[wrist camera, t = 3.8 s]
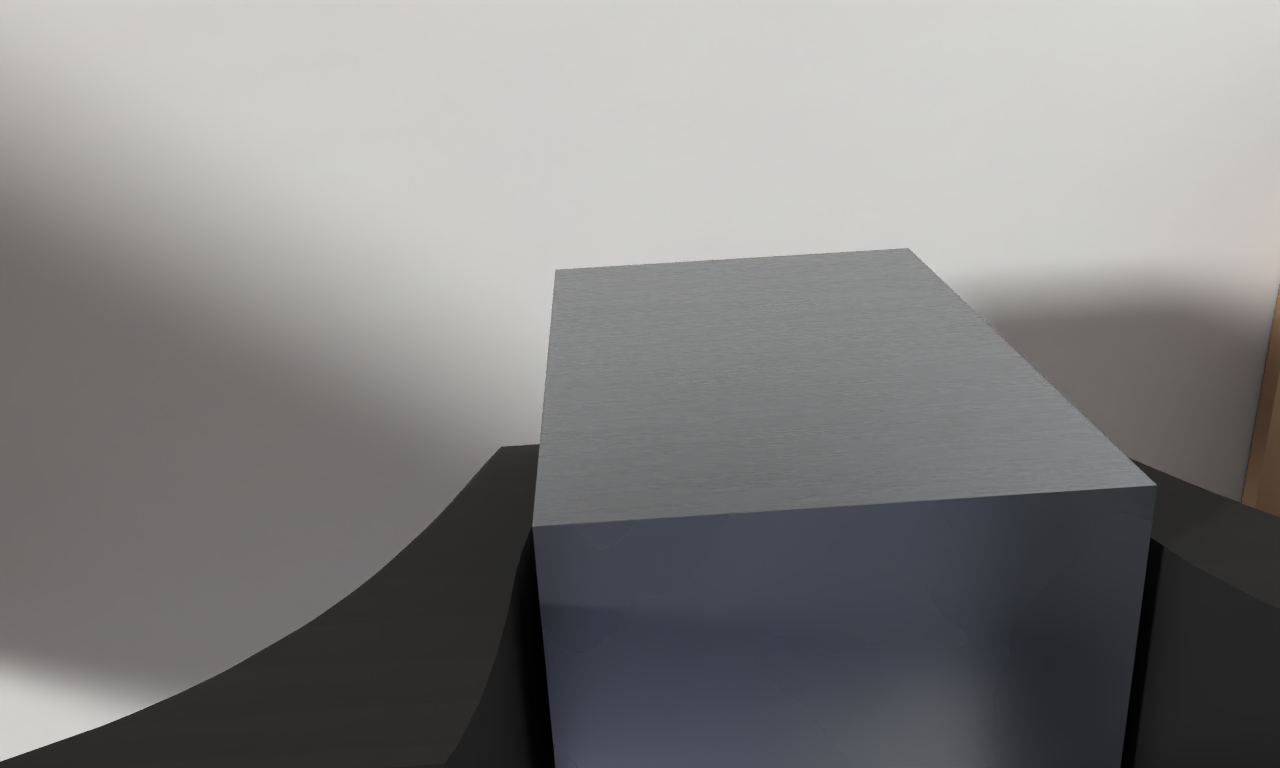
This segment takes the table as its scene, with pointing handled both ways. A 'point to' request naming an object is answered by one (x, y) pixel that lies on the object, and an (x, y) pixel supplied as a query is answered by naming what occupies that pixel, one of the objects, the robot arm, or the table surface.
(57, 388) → the table surface
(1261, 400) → the well block
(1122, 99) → the table surface
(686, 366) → the tall grey block
